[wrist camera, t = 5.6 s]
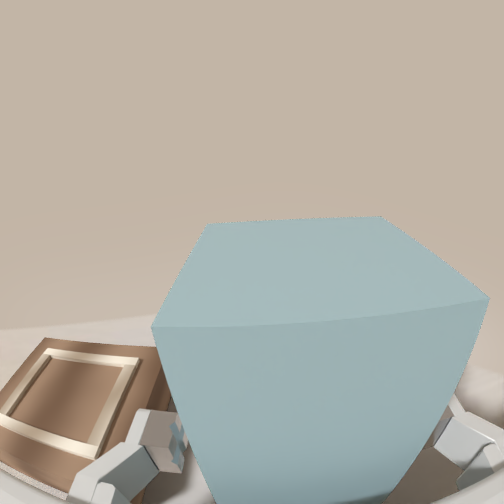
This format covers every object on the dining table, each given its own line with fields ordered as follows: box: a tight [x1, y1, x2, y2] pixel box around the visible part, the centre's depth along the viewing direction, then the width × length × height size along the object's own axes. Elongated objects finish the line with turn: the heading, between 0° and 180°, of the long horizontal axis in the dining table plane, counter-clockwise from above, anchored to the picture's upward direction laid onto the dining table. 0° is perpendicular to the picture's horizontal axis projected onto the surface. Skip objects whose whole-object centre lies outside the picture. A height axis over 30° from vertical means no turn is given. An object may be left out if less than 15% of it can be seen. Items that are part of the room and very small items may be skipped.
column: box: [151, 217, 490, 504], centre depth 8 cm, size 5×5×14 cm
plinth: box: [0, 338, 171, 504], centre depth 15 cm, size 12×12×3 cm
